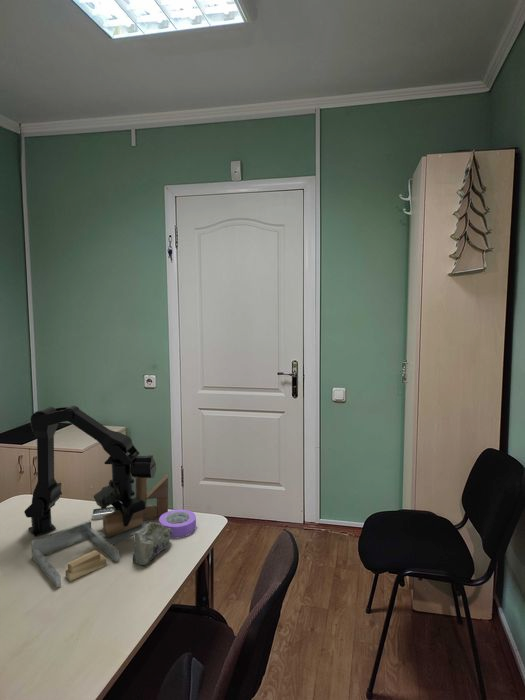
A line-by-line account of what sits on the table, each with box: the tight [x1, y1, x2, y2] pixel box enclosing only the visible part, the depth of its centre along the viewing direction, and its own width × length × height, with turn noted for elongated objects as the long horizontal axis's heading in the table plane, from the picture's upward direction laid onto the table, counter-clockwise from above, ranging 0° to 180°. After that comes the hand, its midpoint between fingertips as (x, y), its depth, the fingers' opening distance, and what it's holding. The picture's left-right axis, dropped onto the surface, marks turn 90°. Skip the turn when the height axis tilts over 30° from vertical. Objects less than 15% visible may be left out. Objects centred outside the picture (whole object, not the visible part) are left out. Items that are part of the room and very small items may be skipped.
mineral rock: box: [132, 521, 172, 566], centre depth 129 cm, size 13×11×10 cm
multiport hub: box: [91, 506, 115, 521], centre depth 154 cm, size 4×14×2 cm, turn 107°
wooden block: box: [134, 473, 169, 521], centre depth 150 cm, size 4×11×18 cm, turn 105°
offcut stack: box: [64, 549, 107, 582], centre depth 122 cm, size 3×10×4 cm, turn 134°
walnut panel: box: [102, 510, 144, 537], centre depth 142 cm, size 3×12×6 cm, turn 135°
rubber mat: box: [98, 522, 147, 545], centre depth 142 cm, size 8×14×1 cm, turn 135°
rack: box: [30, 520, 120, 588], centre depth 127 cm, size 19×17×5 cm
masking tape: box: [158, 509, 197, 539], centre depth 144 cm, size 12×12×4 cm
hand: (123, 524), depth 142 cm, fingers closed on walnut panel, 3 cm apart
